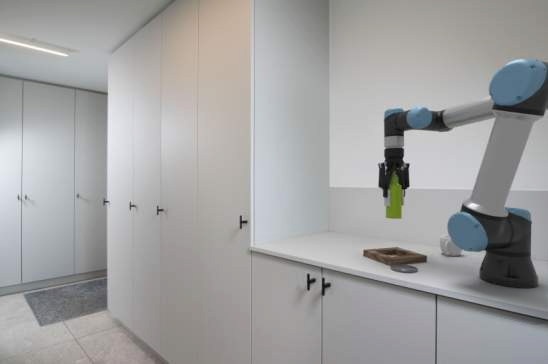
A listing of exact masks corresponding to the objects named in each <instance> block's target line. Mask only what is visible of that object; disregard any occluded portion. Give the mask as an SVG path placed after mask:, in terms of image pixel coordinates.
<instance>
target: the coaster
mask: <svg viewBox="0 0 548 364" xmlns="http://www.w3.org/2000/svg"><path fill="white" fill-rule="evenodd" d="M390 270H391V271H394V272H397V273H401V274H402V273H403V274H414V273H417V272H418V271H419V269H418V267H416V266H413V265H411V264H404V265H402V264H397V265H392V266H390Z"/></svg>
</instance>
